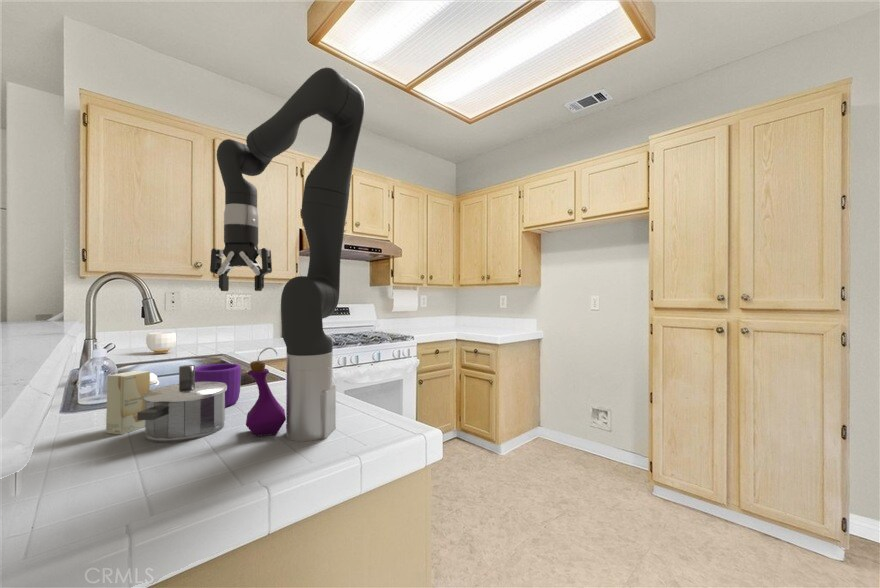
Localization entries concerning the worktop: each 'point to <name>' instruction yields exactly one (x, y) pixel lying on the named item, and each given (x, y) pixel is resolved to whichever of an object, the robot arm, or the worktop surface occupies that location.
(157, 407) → the pot
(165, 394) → the lid
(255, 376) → the perfume bottle
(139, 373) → the skincare box
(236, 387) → the mug
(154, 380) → the garlic
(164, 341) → the cup
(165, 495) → the worktop surface
